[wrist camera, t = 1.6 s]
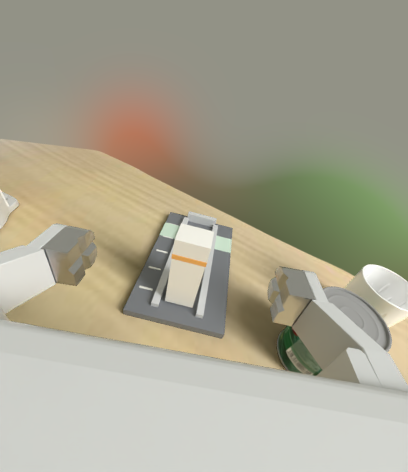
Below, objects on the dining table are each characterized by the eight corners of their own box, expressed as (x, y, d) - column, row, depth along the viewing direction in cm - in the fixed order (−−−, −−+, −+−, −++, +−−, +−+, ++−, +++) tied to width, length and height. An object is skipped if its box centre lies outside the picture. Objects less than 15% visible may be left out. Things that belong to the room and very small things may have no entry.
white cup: (314, 301, 39) (350, 264, 32) (349, 298, 41) (389, 264, 34) (343, 347, 33) (393, 314, 26) (381, 342, 35) (437, 310, 29)
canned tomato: (282, 318, 35) (320, 275, 28) (332, 346, 33) (386, 308, 26) (270, 364, 29) (314, 325, 22) (329, 402, 27) (398, 372, 20)
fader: (164, 301, 31) (174, 239, 23) (170, 283, 33) (180, 222, 25) (192, 308, 31) (211, 249, 23) (196, 290, 33) (214, 231, 25)
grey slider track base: (123, 314, 30) (122, 302, 28) (170, 216, 48) (171, 205, 46) (221, 338, 30) (227, 328, 28) (230, 232, 48) (234, 221, 46)
